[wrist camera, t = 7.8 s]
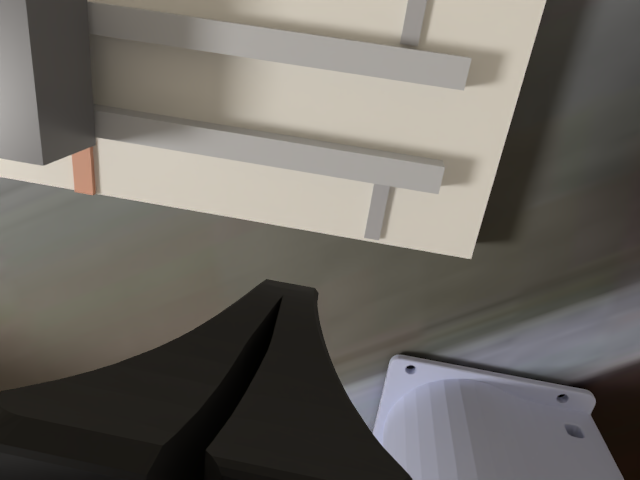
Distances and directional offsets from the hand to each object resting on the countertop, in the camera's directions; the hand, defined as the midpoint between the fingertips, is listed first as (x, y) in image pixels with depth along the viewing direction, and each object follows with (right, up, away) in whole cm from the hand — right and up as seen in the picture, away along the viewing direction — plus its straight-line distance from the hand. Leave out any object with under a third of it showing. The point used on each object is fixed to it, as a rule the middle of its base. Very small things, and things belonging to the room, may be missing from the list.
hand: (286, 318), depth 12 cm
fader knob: (-9, +8, +6) cm, 14 cm away
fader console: (-3, +8, +7) cm, 11 cm away
